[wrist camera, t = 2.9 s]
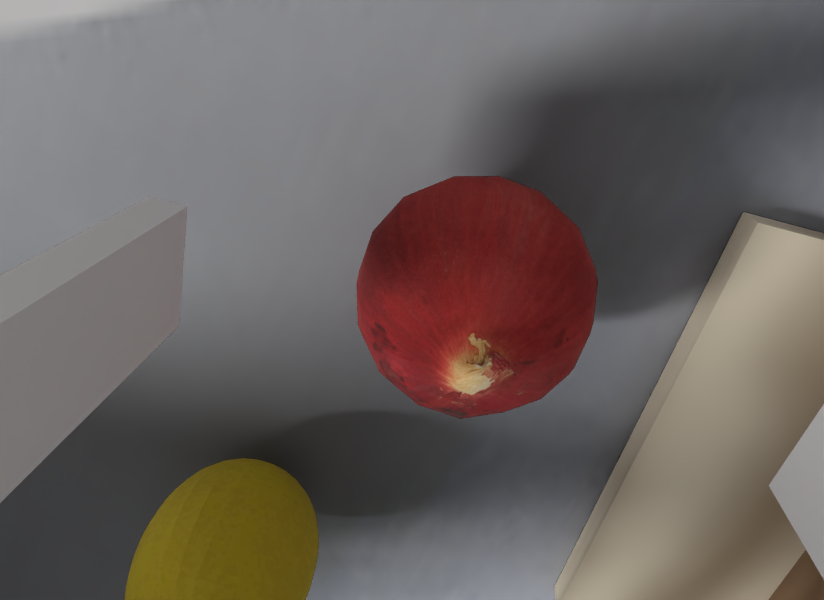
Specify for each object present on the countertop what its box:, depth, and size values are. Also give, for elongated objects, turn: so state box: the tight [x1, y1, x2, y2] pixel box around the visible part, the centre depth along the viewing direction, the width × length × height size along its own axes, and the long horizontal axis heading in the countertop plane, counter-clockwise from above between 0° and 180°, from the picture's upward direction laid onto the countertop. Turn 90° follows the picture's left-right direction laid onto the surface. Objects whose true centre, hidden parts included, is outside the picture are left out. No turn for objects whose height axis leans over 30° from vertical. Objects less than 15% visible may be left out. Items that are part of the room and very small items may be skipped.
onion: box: [357, 176, 598, 419], centre depth 15 cm, size 6×6×8 cm
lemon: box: [124, 458, 319, 600], centre depth 19 cm, size 6×6×8 cm
